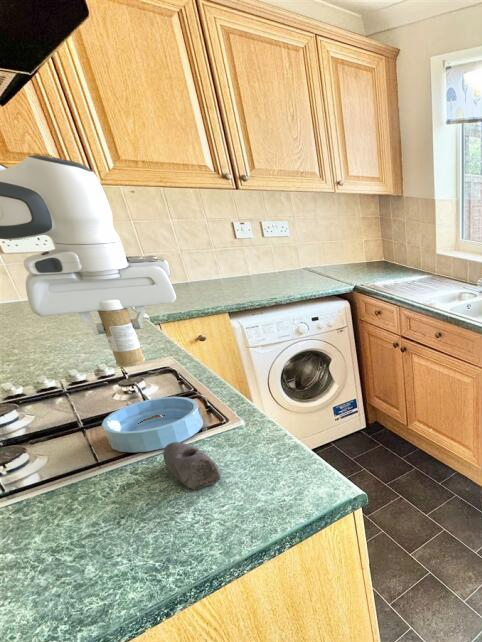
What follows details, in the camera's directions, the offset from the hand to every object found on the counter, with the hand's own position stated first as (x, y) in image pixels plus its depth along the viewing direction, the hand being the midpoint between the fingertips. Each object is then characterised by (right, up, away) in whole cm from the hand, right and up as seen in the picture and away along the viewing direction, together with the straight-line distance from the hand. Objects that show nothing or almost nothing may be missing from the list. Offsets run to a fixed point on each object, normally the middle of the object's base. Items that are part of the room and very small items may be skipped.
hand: (119, 331), depth 82 cm
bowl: (+1, -22, +9) cm, 23 cm away
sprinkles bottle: (0, -6, +3) cm, 7 cm away
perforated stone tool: (+17, -28, -3) cm, 33 cm away
